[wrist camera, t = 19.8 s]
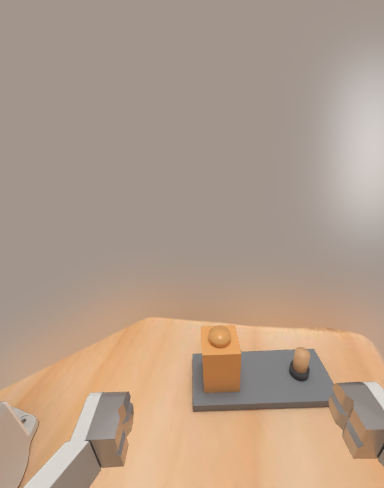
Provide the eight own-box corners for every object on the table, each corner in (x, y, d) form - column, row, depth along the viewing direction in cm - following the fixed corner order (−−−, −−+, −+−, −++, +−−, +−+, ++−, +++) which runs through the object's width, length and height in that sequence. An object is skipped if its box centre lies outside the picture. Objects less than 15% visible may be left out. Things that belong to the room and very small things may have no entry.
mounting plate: (193, 411, 39) (191, 385, 36) (193, 359, 48) (191, 335, 45) (341, 406, 39) (350, 379, 36) (312, 354, 48) (318, 329, 45)
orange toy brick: (204, 392, 40) (201, 349, 36) (202, 362, 46) (200, 321, 41) (239, 391, 40) (241, 348, 36) (233, 360, 45) (235, 319, 41)
